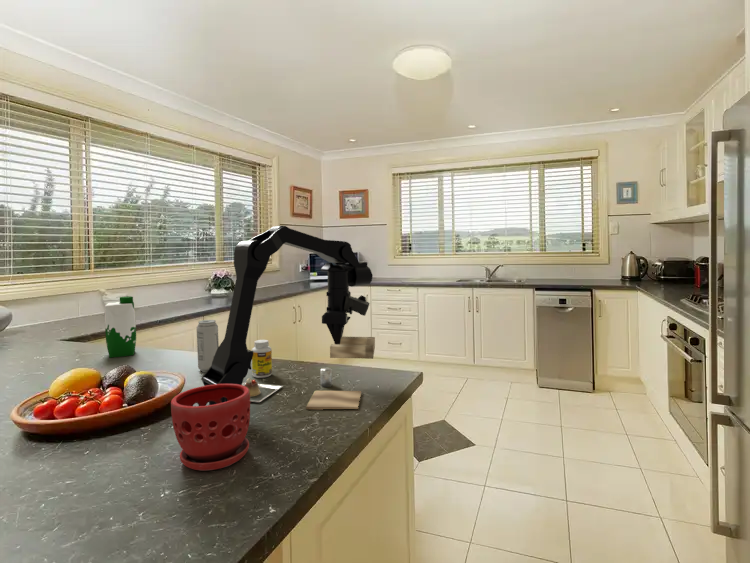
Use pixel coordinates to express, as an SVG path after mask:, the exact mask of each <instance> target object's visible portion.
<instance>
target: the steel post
mask: <svg viewBox="0 0 750 563" xmlns="http://www.w3.org/2000/svg"><path fill="white" fill-rule="evenodd" d="M332 370H333V369H332V368H331V367H327V366H325V367H321V368H320V387H322V388H329V387H331V386H332V385H333V377H332V376H333V375H332V374H333V373H332Z"/></svg>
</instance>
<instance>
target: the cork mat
mask: <svg viewBox="0 0 750 563" xmlns="http://www.w3.org/2000/svg"><path fill="white" fill-rule="evenodd" d="M360 397H361V398H362V391H361V390H314V392H313V394H312V395H311V397H310V399H309V401H308V402H307V405H306V406H305V408H306V410H323V409H358V410H359V407H358V406H360V402H361V398H360ZM359 401H360V402H359Z"/></svg>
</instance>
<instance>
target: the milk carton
mask: <svg viewBox="0 0 750 563" xmlns="http://www.w3.org/2000/svg"><path fill="white" fill-rule="evenodd" d="M136 323H137V322H136V312H135V303H134V296H131V295H129V296H127V295H126V296H120V297H119V301H116V302H107V304H105V305H104V327H105V328H104V329H105V344H106V348H107V353H108V357H109V359H110V358H120V357H131V355H132V356H134V355H135V351H136V344H137V326H136V325H137V324H136Z"/></svg>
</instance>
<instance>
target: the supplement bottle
mask: <svg viewBox="0 0 750 563" xmlns="http://www.w3.org/2000/svg"><path fill="white" fill-rule="evenodd" d="M253 342H254V347H252V348H251V351H253V357H252V360H251V374H252V375H251V376H252V377H254V378H259V379H261V378H269V377H270V376H271V375H272V374H273V363H272V362H273V361H272V360H273V357H272V355H273V354H272V347H271V346H269V345H270V344H269V343H270V342H269V340H268V339H257V340H254V341H253Z"/></svg>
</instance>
